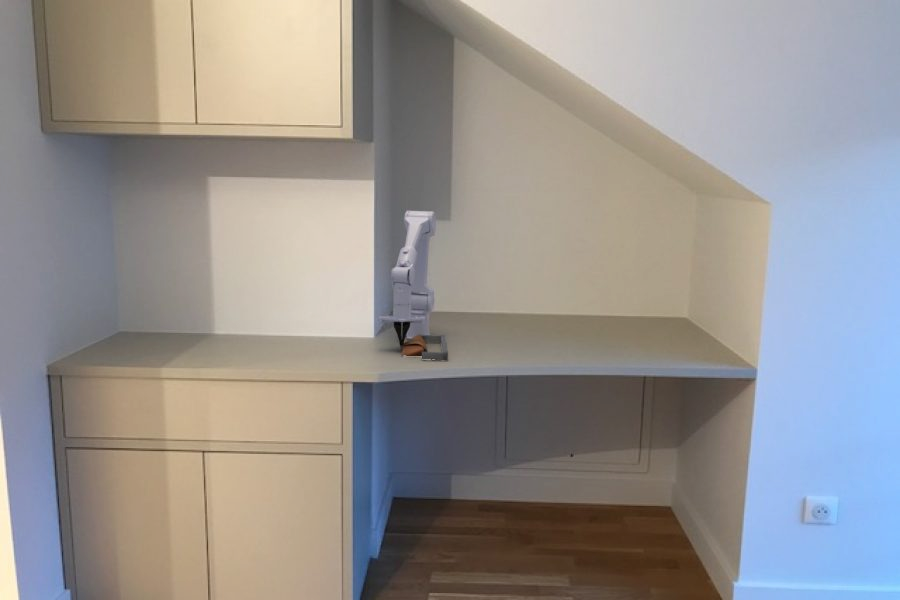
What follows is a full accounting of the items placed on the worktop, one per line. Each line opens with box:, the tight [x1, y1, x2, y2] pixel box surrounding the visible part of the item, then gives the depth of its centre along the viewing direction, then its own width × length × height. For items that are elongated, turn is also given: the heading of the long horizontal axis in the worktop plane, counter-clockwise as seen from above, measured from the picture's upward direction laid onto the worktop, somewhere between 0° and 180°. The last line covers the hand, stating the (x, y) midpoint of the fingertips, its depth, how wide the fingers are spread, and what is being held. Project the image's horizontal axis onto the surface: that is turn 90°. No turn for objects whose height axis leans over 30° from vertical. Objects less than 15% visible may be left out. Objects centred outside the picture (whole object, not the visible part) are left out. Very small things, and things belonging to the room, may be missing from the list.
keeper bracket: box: [421, 334, 449, 360], centre depth 229 cm, size 24×8×2 cm, turn 3°
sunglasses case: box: [400, 334, 428, 356], centre depth 229 cm, size 18×7×7 cm
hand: (401, 344), depth 228 cm, fingers closed
